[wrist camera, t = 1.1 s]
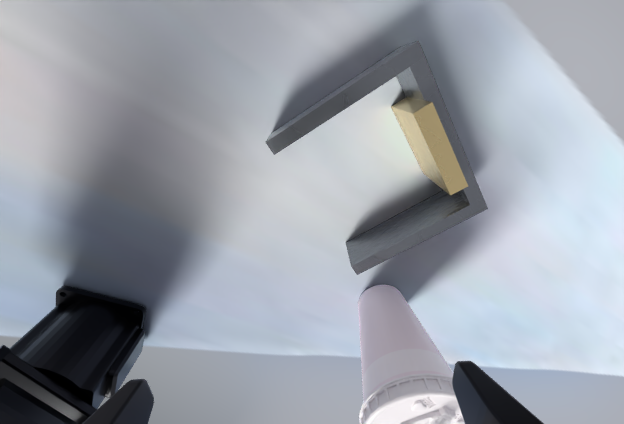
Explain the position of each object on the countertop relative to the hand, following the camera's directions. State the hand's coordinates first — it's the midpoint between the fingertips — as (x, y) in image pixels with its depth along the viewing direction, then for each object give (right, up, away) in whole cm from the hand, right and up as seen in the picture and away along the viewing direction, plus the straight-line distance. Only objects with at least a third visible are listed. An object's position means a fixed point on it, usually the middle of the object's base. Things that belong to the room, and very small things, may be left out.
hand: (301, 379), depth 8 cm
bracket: (+4, +8, +11) cm, 14 cm away
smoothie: (+6, -3, +16) cm, 17 cm away
